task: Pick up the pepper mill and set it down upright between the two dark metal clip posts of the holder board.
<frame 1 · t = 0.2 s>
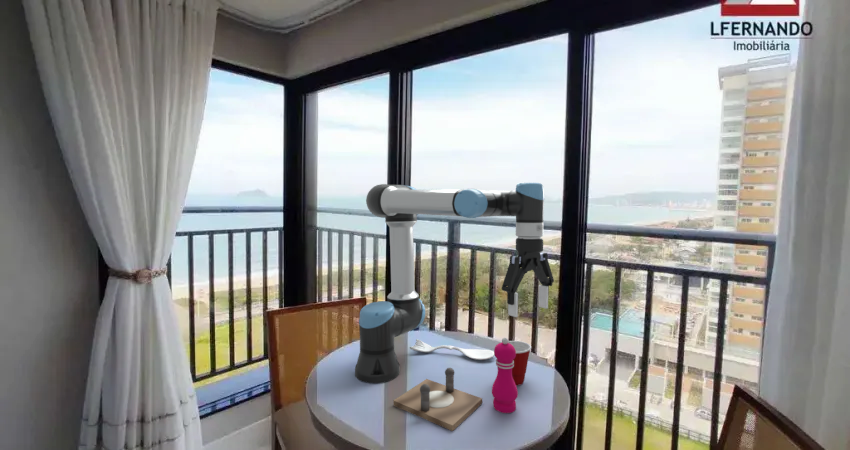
hand: (528, 311, 103), 27 cm above the table, tool pointing down, fingers open, 13 cm apart
spoon: (452, 355, 139), on the table
plastic cup: (513, 381, 118), on the table
pepper mill: (504, 407, 102), on the table
holder: (438, 404, 104), on the table
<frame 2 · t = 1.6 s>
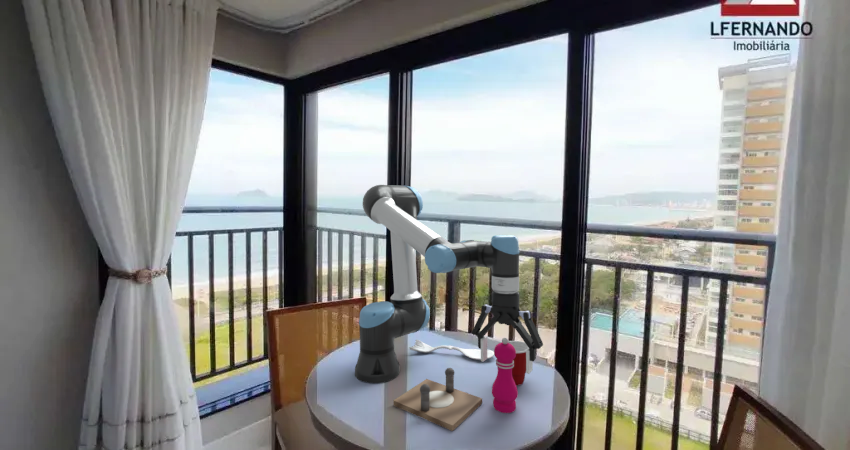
hand: (505, 365, 102), 12 cm above the table, tool pointing down, fingers open, 13 cm apart
nothing on the table moved.
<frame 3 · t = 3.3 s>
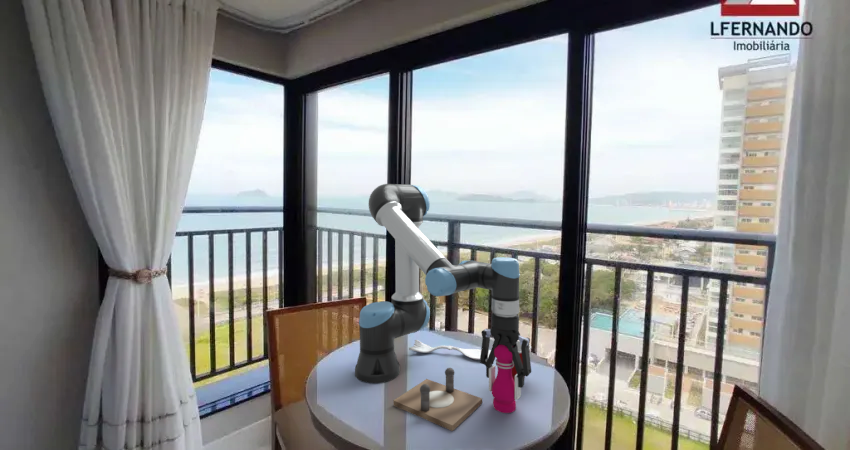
hand: (504, 393, 102), 4 cm above the table, tool pointing down, fingers closed on pepper mill, 7 cm apart
pepper mill: (504, 407, 102), on the table, touching gripper
everything else where it was.
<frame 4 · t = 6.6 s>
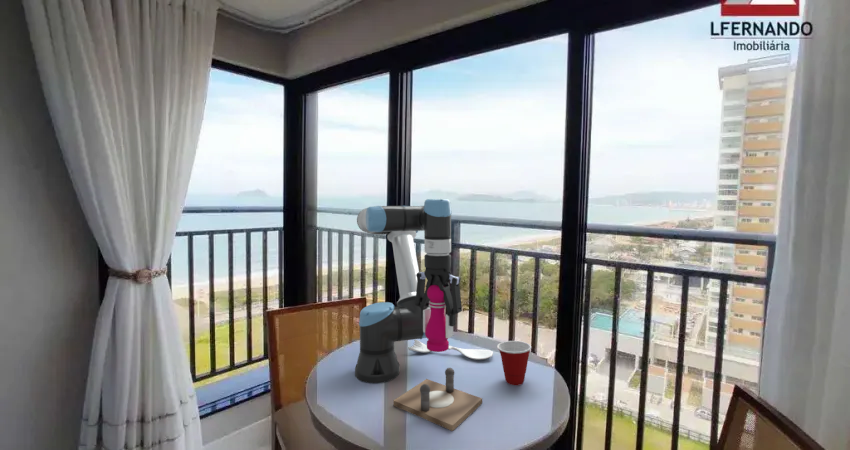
hand: (437, 333, 103), 21 cm above the table, tool pointing down, fingers closed on pepper mill, 7 cm apart
pepper mill: (437, 348, 103), point 16 cm above the table, touching gripper
everything else where it was.
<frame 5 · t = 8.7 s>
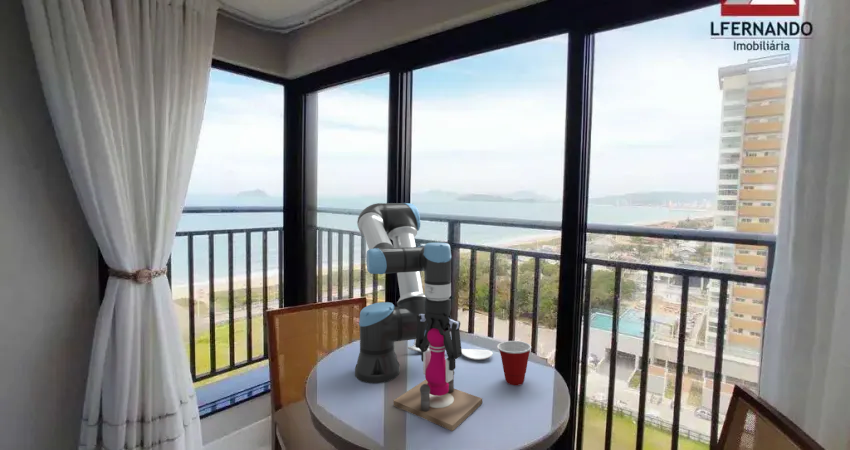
hand: (438, 376, 103), 8 cm above the table, tool pointing down, fingers closed on pepper mill, 7 cm apart
pepper mill: (437, 391, 104), point 4 cm above the table, touching gripper
everything else where it was.
when the fingers open (8 cm above the table, at t = 9.7 s): pepper mill drops 2 cm, resting on holder.
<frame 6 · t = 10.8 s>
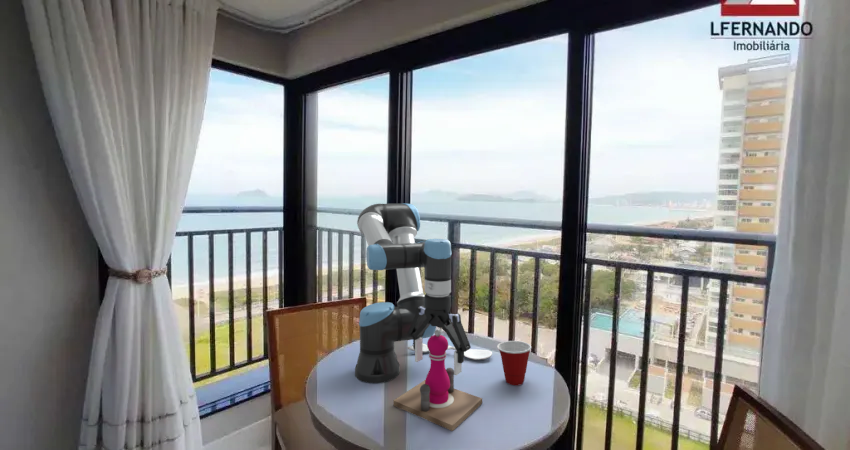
hand: (437, 366, 104), 11 cm above the table, tool pointing down, fingers open, 13 cm apart
pepper mill: (437, 399, 104), point 2 cm above the table, touching holder
everything else where it was.
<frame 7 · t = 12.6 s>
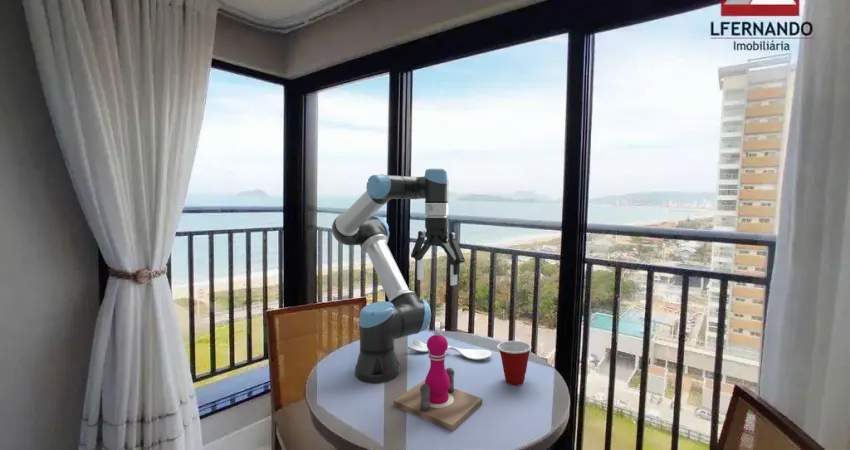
hand: (436, 282, 118), 32 cm above the table, tool pointing down, fingers open, 13 cm apart
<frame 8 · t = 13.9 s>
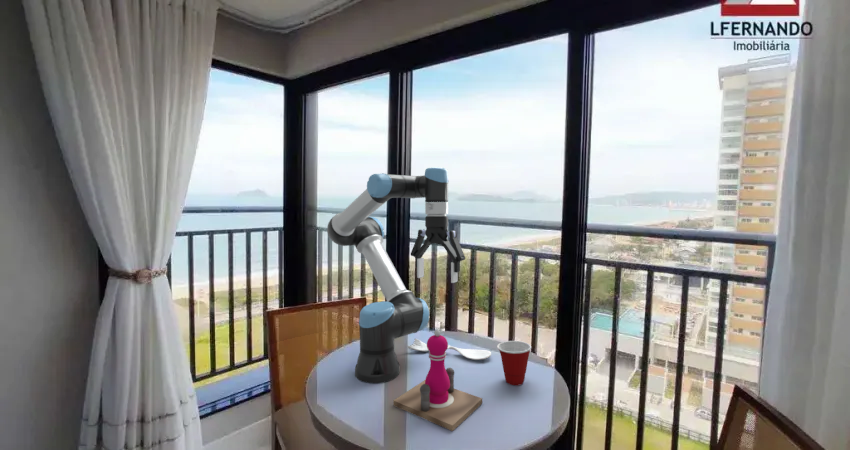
hand: (436, 279, 119), 33 cm above the table, tool pointing down, fingers open, 13 cm apart
at the end: pepper mill 0.1 cm off-centre on the holder, point 1.5 cm above the holder's base; pepper mill tilted 0°; the gripper is holding nothing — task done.
